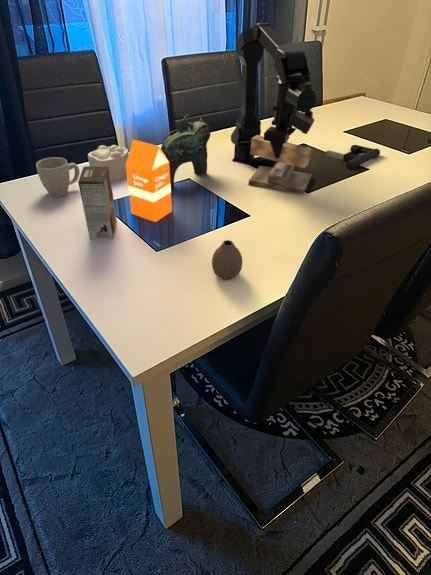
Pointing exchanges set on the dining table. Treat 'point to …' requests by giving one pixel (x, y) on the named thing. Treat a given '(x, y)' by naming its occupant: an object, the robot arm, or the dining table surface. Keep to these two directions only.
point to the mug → (56, 175)
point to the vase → (227, 261)
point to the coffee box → (98, 202)
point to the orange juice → (148, 181)
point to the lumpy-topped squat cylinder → (110, 160)
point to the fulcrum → (281, 178)
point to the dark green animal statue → (187, 148)
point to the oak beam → (288, 155)
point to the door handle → (355, 156)
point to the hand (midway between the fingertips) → (279, 155)
